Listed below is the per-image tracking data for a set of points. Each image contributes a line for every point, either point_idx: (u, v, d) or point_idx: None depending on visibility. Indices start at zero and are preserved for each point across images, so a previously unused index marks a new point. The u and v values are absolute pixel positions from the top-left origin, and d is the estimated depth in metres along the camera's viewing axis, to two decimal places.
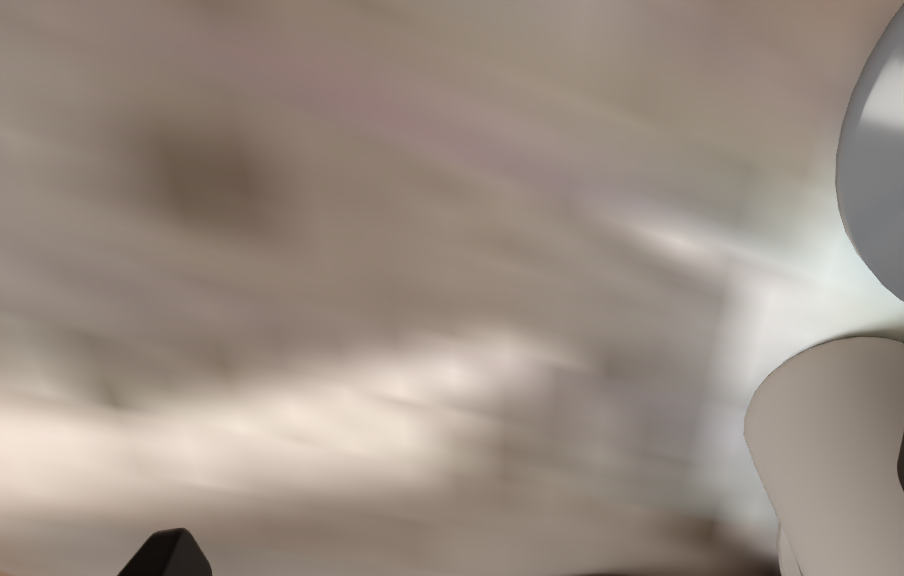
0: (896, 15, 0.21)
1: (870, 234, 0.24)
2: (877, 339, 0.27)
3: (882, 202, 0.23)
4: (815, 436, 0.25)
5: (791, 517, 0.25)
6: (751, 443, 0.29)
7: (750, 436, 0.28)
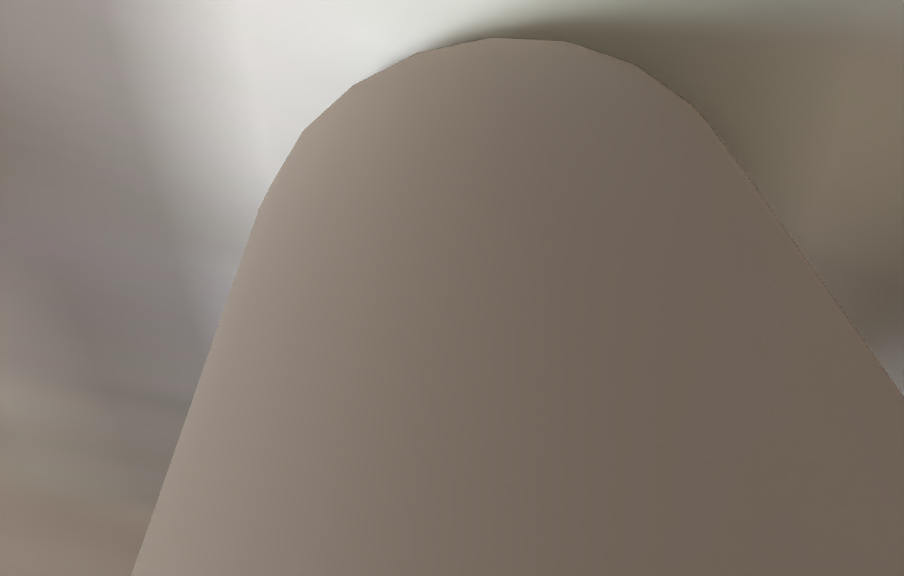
0: None
1: None
2: (522, 40, 0.10)
3: None
4: (241, 289, 0.08)
5: None
6: None
7: None
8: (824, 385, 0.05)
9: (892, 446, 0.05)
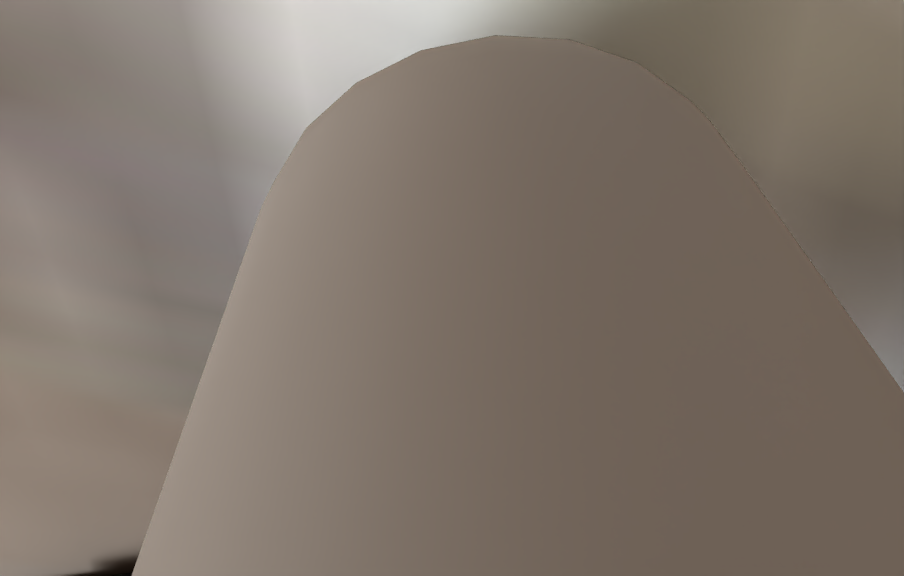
0: None
1: None
2: (525, 38, 0.10)
3: None
4: (244, 284, 0.08)
5: None
6: None
7: None
8: (826, 381, 0.05)
9: (893, 442, 0.05)
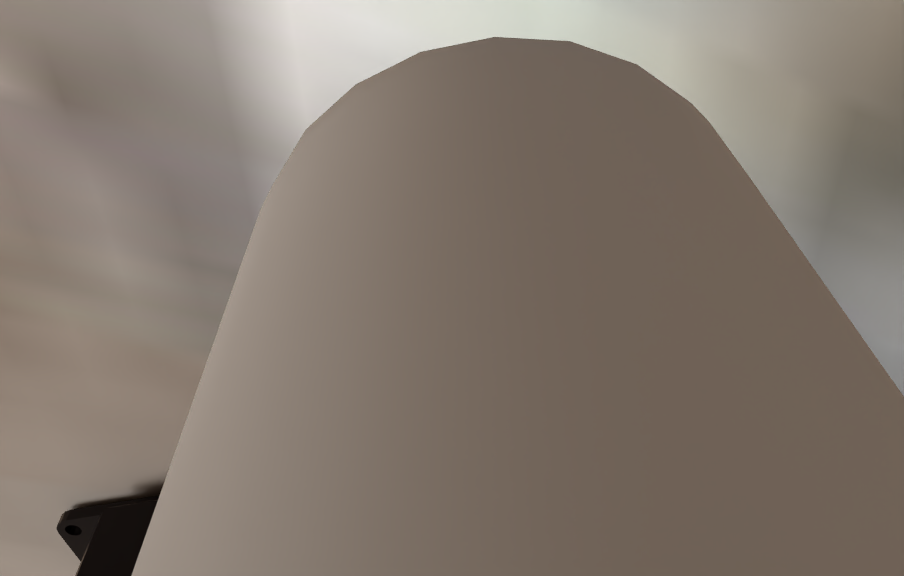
0: None
1: None
2: (525, 40, 0.10)
3: None
4: (243, 286, 0.08)
5: None
6: None
7: None
8: (824, 384, 0.05)
9: (892, 445, 0.05)
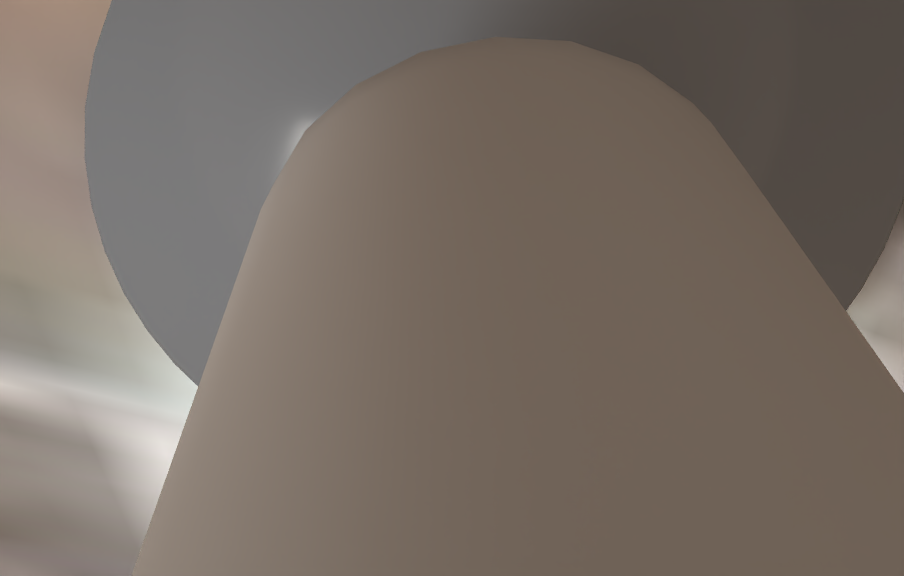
0: None
1: None
2: (526, 40, 0.10)
3: (205, 337, 0.16)
4: (244, 289, 0.08)
5: None
6: None
7: None
8: (828, 387, 0.05)
9: (896, 449, 0.05)
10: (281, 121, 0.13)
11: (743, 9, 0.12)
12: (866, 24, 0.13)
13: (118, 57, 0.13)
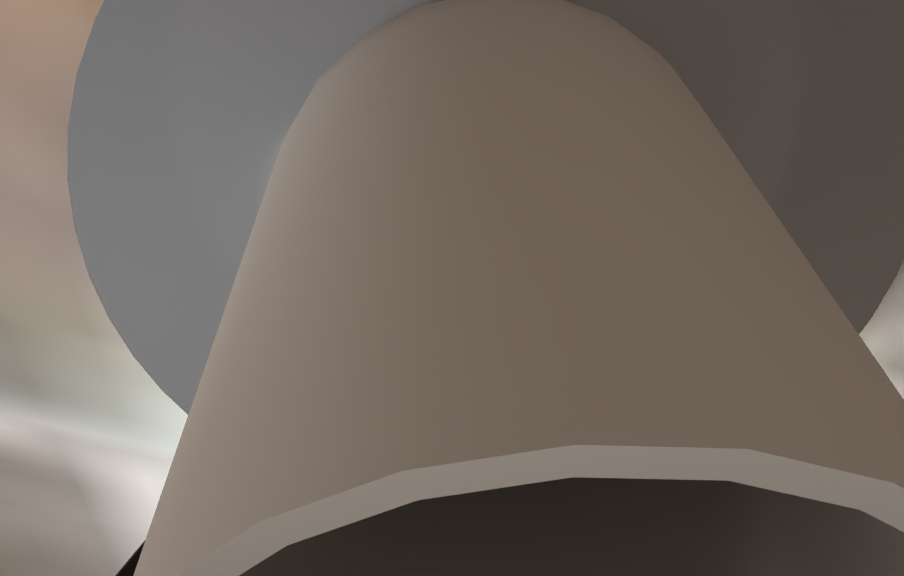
0: None
1: None
2: None
3: (193, 364, 0.16)
4: (272, 197, 0.09)
5: None
6: None
7: None
8: (732, 234, 0.06)
9: (780, 275, 0.06)
10: (272, 144, 0.13)
11: (752, 32, 0.12)
12: (881, 46, 0.12)
13: (102, 77, 0.12)
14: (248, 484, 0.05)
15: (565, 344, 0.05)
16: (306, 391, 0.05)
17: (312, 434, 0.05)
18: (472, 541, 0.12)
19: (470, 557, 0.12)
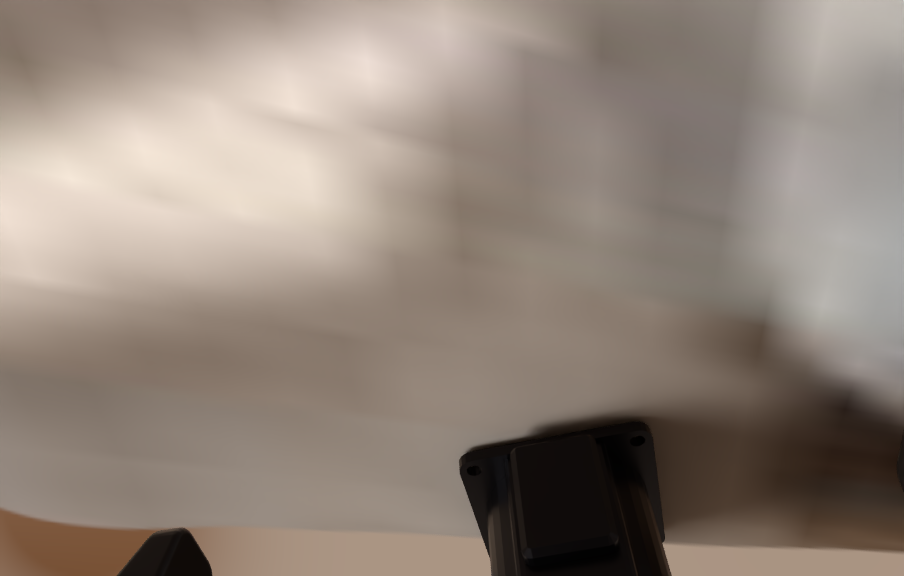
0: None
1: None
2: None
3: None
4: None
5: None
6: None
7: None
8: None
9: None
10: None
11: None
12: None
13: None
14: None
15: None
16: None
17: None
18: None
19: None
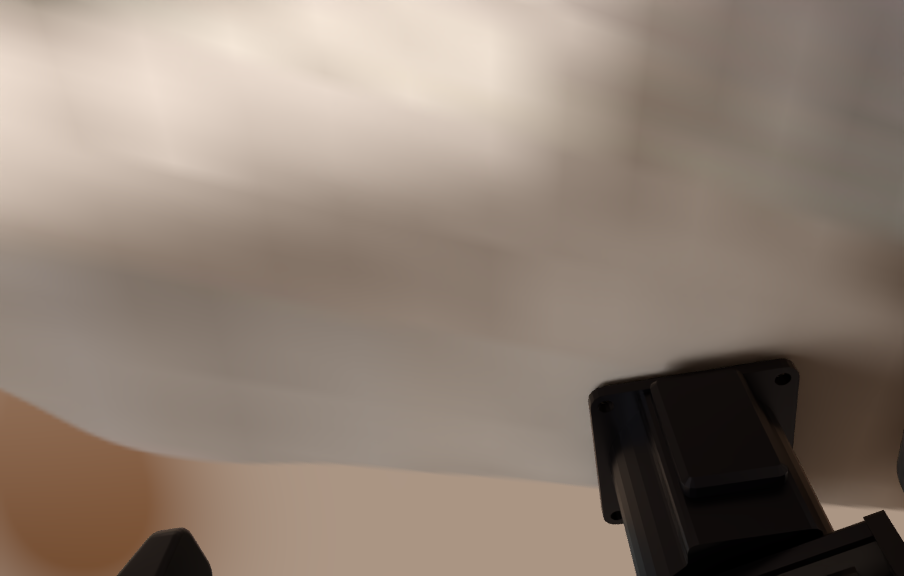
0: None
1: None
2: None
3: None
4: None
5: None
6: None
7: None
8: None
9: None
10: None
11: None
12: None
13: None
14: None
15: None
16: None
17: None
18: None
19: None
